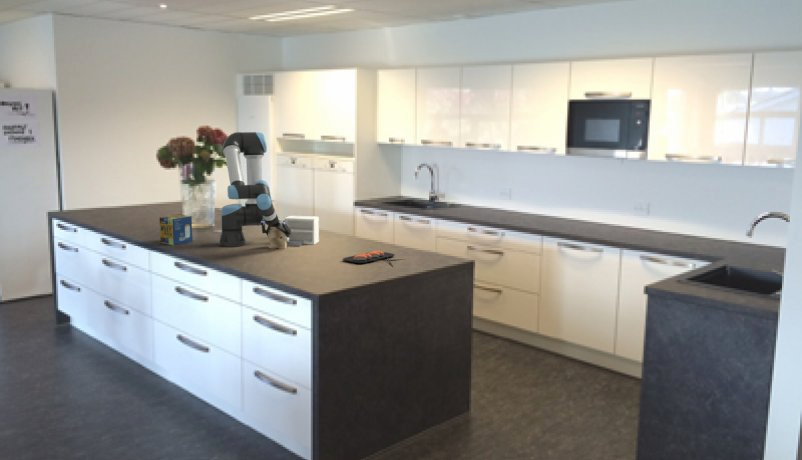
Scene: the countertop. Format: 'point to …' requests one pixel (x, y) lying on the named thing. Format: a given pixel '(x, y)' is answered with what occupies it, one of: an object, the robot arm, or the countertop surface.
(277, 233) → the door
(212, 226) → the countertop surface
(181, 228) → the protein box
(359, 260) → the sushi plate
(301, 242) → the cabinet
